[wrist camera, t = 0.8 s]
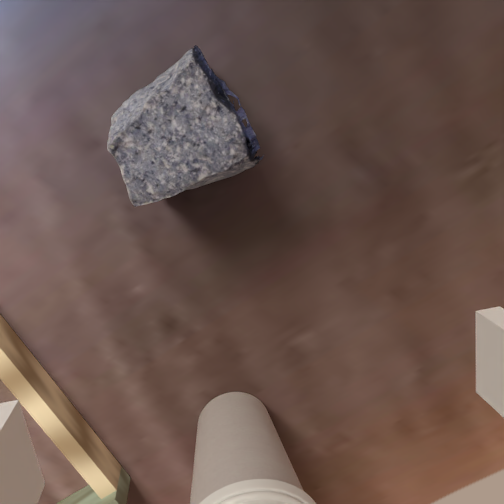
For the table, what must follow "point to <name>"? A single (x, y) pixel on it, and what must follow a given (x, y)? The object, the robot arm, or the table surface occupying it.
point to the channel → (61, 423)
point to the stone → (180, 133)
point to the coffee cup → (242, 456)
